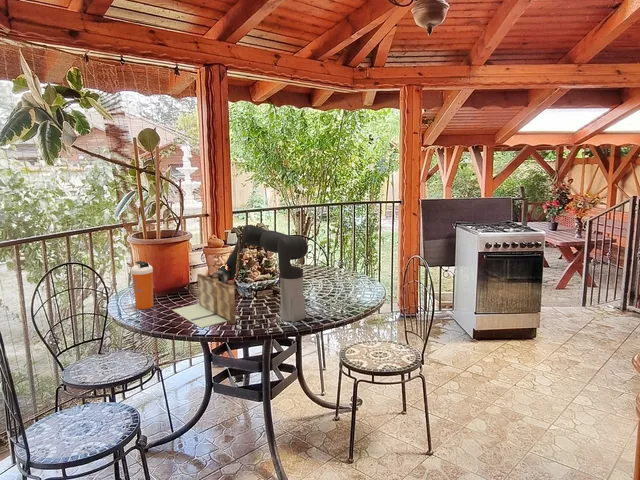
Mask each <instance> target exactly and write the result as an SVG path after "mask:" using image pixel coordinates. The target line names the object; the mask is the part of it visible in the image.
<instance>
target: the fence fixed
mask: <svg viewBox="0 0 640 480" xmlns="http://www.w3.org/2000/svg"><path fill="white" fill-rule="evenodd" d="M212 274H213V273H212ZM212 278H213V295H214V313H215V315H218V314H219V315H220V316H222V317H224V318H226V319H228V320H230V321H229V324H231V325H234V324H236V323H237V322H236V320H237V319H236V297H235V296H236V295H235V280H229V281H227V283H222V282H220V281H218V275H217V274H213V276H212Z"/></svg>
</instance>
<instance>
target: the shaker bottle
mask: <svg viewBox="0 0 640 480" xmlns="http://www.w3.org/2000/svg"><path fill="white" fill-rule="evenodd" d="M135 264H136V265H135ZM135 264H134V265H133V266H132V267H131V269H130V274H131V279H132V286H133V293H134V301H135V307H136V309H138V310H147V309H151V308H153V307H154V281H153V278H154V277H153V272H154V267H153V265H151V264H150V263H149V262H146V261H143V260H138V261H135Z"/></svg>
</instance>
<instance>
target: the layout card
mask: <svg viewBox="0 0 640 480" xmlns="http://www.w3.org/2000/svg"><path fill="white" fill-rule="evenodd" d="M171 311H173V312H174V313H176V314H177V315H178V316H180V317H182V318H184V319H185V320H187V321H188V322H190V323H192V324H193V325H195V326H197V327H198V328H200V329H203V328H207V327H211V326H215V325H219V324H223V323H226V322H227V323H228V322H230V320H228V319H226V318H224V317H222V316H220V315H219V314H218V315H215V313H214V312H213V311H211V310H209V309H207V308H205V307H203V306H202V305H200V304H199V303H197V304H196V303H195V304H191V305H187V306H182V307H178V308H174V309H172V310H171ZM235 315H236V314H235ZM238 319H241V317H240V316H238V315H236V320H238Z"/></svg>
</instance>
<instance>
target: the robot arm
mask: <svg viewBox="0 0 640 480" xmlns="http://www.w3.org/2000/svg"><path fill="white" fill-rule="evenodd" d="M241 232H242V244H243V245H244V246H245V245H250V246H253V247H254V246H255V247H259V248H260V247H262V249H263V250H265V251H268V252H270V253H273V254H277V259H278V260H277V262H278V270H279V273H280V283H279V291H280V292H279V293H280V296H279V297H280V318H281V320H282V321H286V322H292V323H295V322H299V321H302V320H305V319H306V297H305V296H306V295H304V270H303V269H302V268H301V267H299V266H295V265H292V263H291V261H293V260H300V259H303V258H304V257H306V256H307V254H308V251H309V245H308V243H307V241H306V239H305V238H304V237H303V236H301V235H290V234H289V235H288V234H286V233H282V232H279V231H276V230H267V229H265V228H264V227H263V228H262V227H261V226H255V225H251V224H247V225H245V226H244V227H243V228H242V231H241ZM237 252H238V240H237V241H236V244H235V245H234V248H233V250H232V252H231V253H230V255H229V257H227V260H226V264H227V266H228V268H229V269H230V270H229V271H227V270H226V269H225V266H222V267H221V268H219V269H218V271H217V270H216V271H215V272H213V273H212V274H211V275H209V276H208V277H210V278H212V276H213V274H217V275H218V281H220V282H222V283H225V284H227V283H228V279H229V278H231V279H232V278H234V276H235V274H236V258H237ZM212 279H213V278H212Z"/></svg>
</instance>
